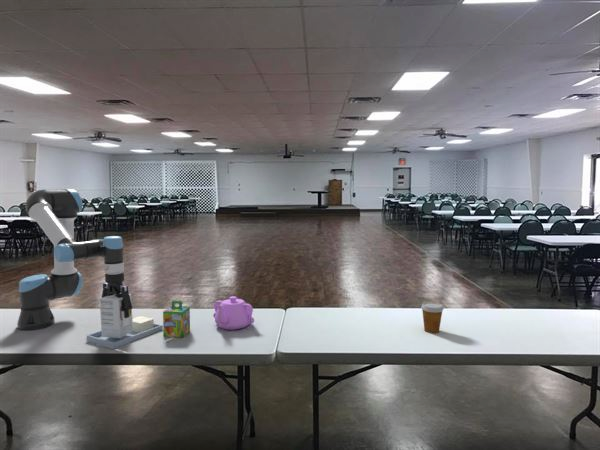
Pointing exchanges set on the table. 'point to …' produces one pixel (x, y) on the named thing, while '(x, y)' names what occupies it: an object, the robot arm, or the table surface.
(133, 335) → the blue-grey tray
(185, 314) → the chalk box
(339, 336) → the table surface
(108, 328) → the supplement box
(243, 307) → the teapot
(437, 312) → the disposable coffee cup
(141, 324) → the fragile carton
